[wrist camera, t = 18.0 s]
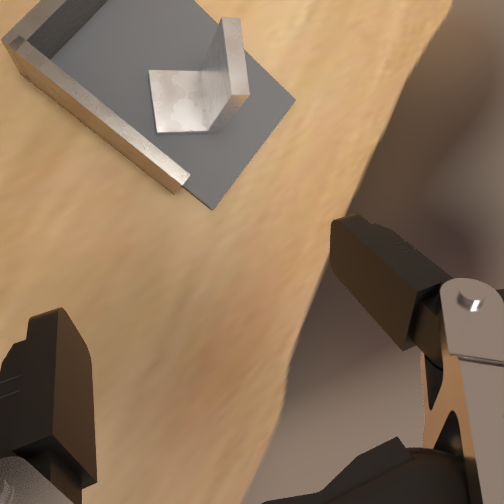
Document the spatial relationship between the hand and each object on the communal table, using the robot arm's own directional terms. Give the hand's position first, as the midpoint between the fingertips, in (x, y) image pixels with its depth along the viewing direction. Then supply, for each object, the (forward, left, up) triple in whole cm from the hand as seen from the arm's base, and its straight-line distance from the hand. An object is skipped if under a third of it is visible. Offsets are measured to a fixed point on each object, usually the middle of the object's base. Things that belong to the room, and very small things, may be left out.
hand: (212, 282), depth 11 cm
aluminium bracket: (-7, +15, -27) cm, 32 cm away
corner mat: (-8, +16, -28) cm, 33 cm away
